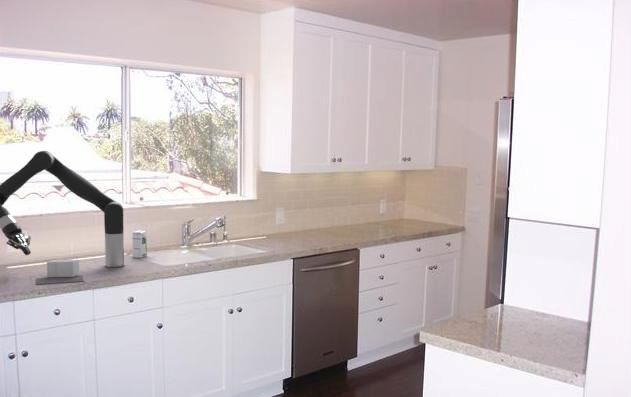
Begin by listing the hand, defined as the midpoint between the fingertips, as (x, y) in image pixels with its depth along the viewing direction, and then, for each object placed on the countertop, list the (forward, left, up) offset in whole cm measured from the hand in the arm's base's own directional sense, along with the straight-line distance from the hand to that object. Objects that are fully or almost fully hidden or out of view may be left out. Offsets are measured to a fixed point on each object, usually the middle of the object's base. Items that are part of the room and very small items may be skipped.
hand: (28, 253), depth 282 cm
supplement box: (-9, +6, -6) cm, 13 cm away
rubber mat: (-14, +16, -10) cm, 24 cm away
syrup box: (-55, -30, -10) cm, 63 cm away
